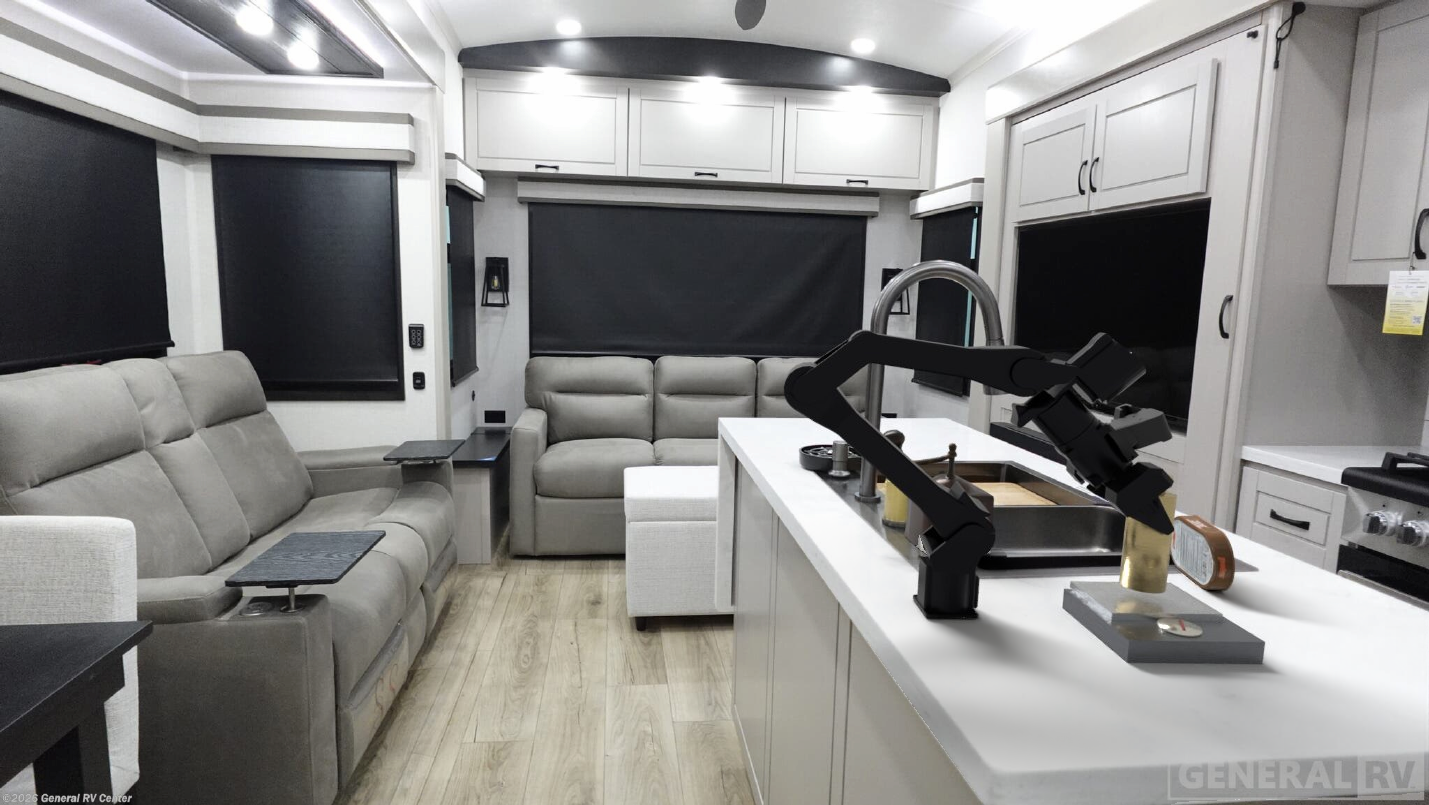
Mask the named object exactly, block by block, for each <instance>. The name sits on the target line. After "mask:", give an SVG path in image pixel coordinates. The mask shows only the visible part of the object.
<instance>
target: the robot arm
mask: <svg viewBox="0 0 1429 805" xmlns="http://www.w3.org/2000/svg"><path fill="white" fill-rule="evenodd" d="M869 364H875V365H880V366H887V367H894V368H900V369H908V370H912V371H919V372H926V373H932V374H936V375H937V374H939V375H945V376H950V377H951V376H952V377H957V378H964V379H967V380H969V381H973V382H976V383H978V384H981V385H984V386H987V387H990V388H991V389H994V390H995V389H996V390H999V391H1002V392H1004V393H1006V394H1010V395H1012V396H1016V397H1020V398H1028V399H1027V400H1026V401H1025V402H1022V403H1018V402H1017V403H1016V402H1012V403H1011V408H1012V410H1011V416H1010V421H1009V422H1010V423H1011V424H1012V425H1013V426H1015V427H1017V428H1019V429H1022V428H1023V427H1025V426H1027V424H1028V423H1030V422H1032V423H1033V424H1034V425H1035V426H1036V427H1037V429H1039V431H1040V432H1041V433H1042V434H1043V436H1045V437H1046V438H1047V439H1048V440H1049V442H1050V443H1051V444H1052V445H1053V446H1054V449H1055V450H1056V451H1055V452H1056V453H1058V454H1059V455H1061V456H1062V457H1064V458H1065V459H1066V465H1065V466H1066V468H1065V470H1066V472H1067V473H1068V474H1069V475H1070V476H1071V478H1072V479H1073V480H1075V482H1077V483H1078V484H1079V485H1081V486H1083V485H1084V484H1085V483H1087V485H1086V486H1085V489H1086V490H1088V491H1089V492H1090V493H1091V494H1094V496H1097V497H1099V498H1101V499H1102V500H1104V501H1106V502H1108V503H1109V504H1110V505H1111V507H1112V508H1113V509H1115V511H1117V512H1119V513H1120V514H1121V515H1123V516H1124V517H1125V518H1126V517H1130V518H1132V519H1135V520H1137V521H1139V522H1141V523H1143V524H1145V525H1147V526H1149V527H1151V528H1153V529H1155V530H1157V531H1159V532H1161V533H1163V534H1165V535H1170V534H1171V533H1172V532H1174V530H1175V529H1174V527H1173V525H1172V523H1171V521H1170V519H1169V517H1168V515H1167V513H1166V511H1165V509H1164V507H1163V505H1162V502H1161V500H1160V498H1159V495H1161V494H1162V493H1163V492H1165V491H1167V490H1168V489H1171V488H1170V487H1171V486H1172V487H1173V484H1174V483H1175V481H1174V479H1173V480H1172V478H1171V477H1170V476H1169V475H1170V474H1169V475H1168V473H1167V472H1166V471H1165V470H1164V469H1163V468H1162V467H1160V466H1157V465H1156V464H1154V463H1152V462H1147V461H1146V462H1145V461H1137V462H1136V463H1134V462H1133V461H1134V460H1136V458H1138V457H1139V456H1140V455H1139V453H1138V452H1137V451H1136V450H1141V449H1144V448H1146V447H1149V446H1152V445H1155V444H1158V443H1161V442H1162V443H1165V442H1168V441H1170V440H1172V439H1173V438H1174V437H1173V433H1172V431H1171V428H1170V426H1169V424H1168V423H1169V422H1168V421H1167V418H1166V416H1165V413H1164V412H1163V411H1160V410H1157V409H1155V408H1144V407H1142V408H1140V410H1138V409H1137V408H1135V406H1133V405H1132V404H1129V403H1124V404H1122V405H1118V406H1116V407H1115V409H1114V415H1113V419H1110V421H1111V422H1109V423H1108V422H1103V421H1101V420H1100V419H1098V418H1097V417H1096V415H1094V414H1093V413H1092V411H1091V410H1090V409H1089V408H1088V407H1087V405H1085V403H1083V401H1082V400H1081V399H1080V398H1079V397H1078V396H1077V395H1076V394H1075V393H1074V392H1073V391H1072V389H1071V388H1073V389H1074V390H1075V391H1076V392H1077V394H1078V395H1080V396H1081V398H1083V399H1084V400H1085V401H1086V402H1087V403H1089V404H1091V405H1093V404H1095V403H1096V402H1097V401H1099V402H1100V403H1102V404H1105V405H1107V404H1109V403H1110V402H1111V401H1113V400H1114V399H1115V398H1116V397H1118V396H1119V395H1120V394H1121V393H1123V392H1124V391H1125V390H1126V389H1128V388H1129V387H1130V386H1132V384H1134V383H1135V382H1137V380H1138V379H1140V378H1141V377H1143V376H1144V375H1145V374H1146V372H1147V370H1146V367H1145V366H1144V364H1143V363H1142V362H1141V360H1140V358H1138V356H1137V355H1136V354H1135V353H1134V352H1132V351H1129V350H1128V349H1127V348H1126V347H1124V346H1123V345H1122V344H1120V342H1118V341H1116V340H1115V339H1113V338H1112V337H1111V336H1110V335H1109V333H1106V332H1098V333H1097V334H1096V335H1094V336H1093V337H1092V338H1091V339H1090V340H1089V342H1088V343H1087V344H1086V345H1085V346H1084V347H1083V348H1082V349H1080V350H1079V351H1077V353H1075V354H1074V355H1073V356H1071V358H1069V359H1068V360H1067V361H1065V360H1061V359H1057V358H1053V359H1052V360H1051V359H1047V358H1046V356H1045V355H1044V354H1043V353H1042V352H1041V351H1039V350H1037V349H1034V348H1030V347H1025V346H1021V345H1015V344H1013V345H981V346H961V345H954V344H947V343H943V342H942V343H941V342H936V341H935V342H934V341H927V340H922V339H918V338H917V339H916V338H908V337H903V336H896V335H889V334H883V333H877V332H874V331H871V330H869V329H859V330H856V331H855V332H854V333H852V334H851V335H850V337H849V338H847V339H846V340H845V341H842V343H840V344H838V345H837V346H835V347H834V348H832V349H831V350H829V351H828V352H826V353H825V354H823V355H822V356H820V357H819V358H817V359H816V360H815V361H814V362H811V361H805V362H804V361H803V362H801V363H797V364H795V366H793V367H792V368H791V369H790V370H789V371H788V373H787V375H786V378H785V381H784V386H783V395H784V398H785V401H786V402H787V404H788V406H789V407H791V409H793V410H794V411H796V412H798V413H800V414H801V415H802V416H804V417H805V418H807V419H809V420H811V421H812V422H813V423H815V424H817V425H819V426H821V427H823V428H825V429H827V430H829V431H831V432H833V433H834V434H836V435H837V436H839V437H840V438H841V439H842V440H843V441H844V442H845V443H846V444H848V445H849V446H850V448H852V450H854V451H855V452H857V454H859V455H860V456H861V457H862V458H863V459H864V460H866V462H868V463H869V464H870V465H871V466H872V467H873V468H874V469H875V470H876V471H878V472H879V473H880V474H881V475H882V476H883V477H884V478H886V480H888V481H889V483H891V484H892V485H893V486H894V487H895V488H896V489H898V490H899V491H900V492H901V493H902V494H903V495H904V496H906V497H907V498H909V499H910V500H911V501H912V502H913V503H915V504H916V505H917V506H918V507H919V508H920V509H921V511H922V512H923V513H924V515H925V516H926V517H927V519H928V520H929V521H930V523H931V524H932V526H930V527H929V528H928V529H927V530H926V531H924V532H923V533H922V534H921V535H920V538H921V541H922V544H923V548H924V550H925V551H926V553H927V554H926V556H919V559H918V560H919V562H918V575H917V576H918V578H917V579H918V580H917V593H916V594H912V599H913V601H914V602H915V604H916V605H917V606H918V608H919V609H920V611H921V612H922V614H923V615H924V617H926V618H928V619H979V613H978V612H977V610H976V609H977V608H978V606H979V594H980V593H979V592H980V591H979V590H980V577H979V576H978V574H977V567H978V565H979V563H980V561H981V559H982V557H984V556H985V554H986V555H988V554H987V553H988V552H989V551H990V550H991V551H992V548H993V547H994V545H995V543H996V542H995V541H996V528H995V526H994V524H993V525H992V523H991V522H990V521H989V520H988V518H987V517H989V516H990V515H991V514H990V513H989V512H988V510H987V509H986V508H985V507H984V506H983V504H982V503H981V502H980V501H979V500H978V499H975V498H973V497H971V496H970V495H968V494H967V493H966V492H965V490H964V489H963V488H962V487H961V485H960V484H959V483H958V482H957V481H955V483H954V484H953V485H952V487H951V488H950V489H949V488H947V487H945V486H943V485H942V484H940V483H938V482H936V481H935V480H934V479H933V477H931V475H929V474H928V473H927V472H926V471H925V470H924V469H923V468H921V466H920V465H919V466H918V465H917V464H916V463H915V462H914V461H915V460H913V459H912V458H910V456H908V455H907V454H906V453H905V452H904V451H903V452H902V451H901V450H900V449H899V448H898V447H897V446H896V445H895V444H894V443H892V442H891V441H890V440H889V439H888V438H887V437H886V436H885V435H883V434H884V433H883V432H881V430H879V429H878V428H877V427H876V426H875V425H874V424H872V422H870V421H869V420H868V419H867V418H866V417H865V416H863V415H862V413H860V412H859V411H858V410H857V409H856V408H855V406H854V405H853V404H852V403H851V401H850V400H849V399H848V398H847V396H846V395H845V394H844V392H843V390H842V389H841V388H840V386H842V385H844V384H845V383H846V382H847V381H848V380H850V379H851V378H852V377H853V376H854V375H856V374H857V373H858V372H859V371H861V370H862V369H863V368H865V367H866V366H868V365H869ZM1050 386H1052V387H1051V388H1050V389H1048V390H1045V388H1046V387H1050Z"/></svg>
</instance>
